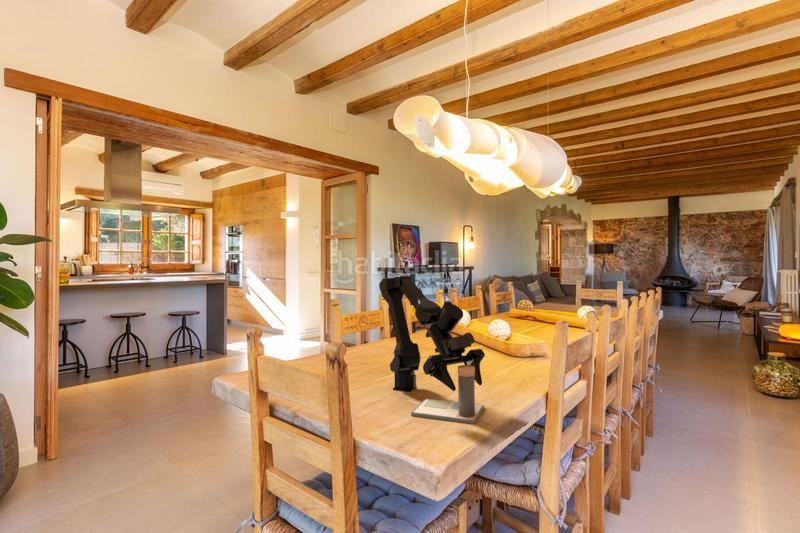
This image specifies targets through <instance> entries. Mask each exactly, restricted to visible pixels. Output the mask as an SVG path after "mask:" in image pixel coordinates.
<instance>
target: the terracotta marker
mask: <svg viewBox="0 0 800 533" xmlns="http://www.w3.org/2000/svg"><path fill="white" fill-rule="evenodd" d="M474 375H475V367H474V366H471V365H465V364H460V365H458V366H457V378H458V380H457V381H458V382H457V383H458V384H457V385H458V387H457V389H458V394H457V395H458V402H459V415H460V416H462V417H473V416H475V404H476V396H475V394H476V391H475V389H476V388H475V387H476V386H475V384H476V383H475V382H476V381H475V380H474Z"/></svg>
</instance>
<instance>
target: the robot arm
mask: <svg viewBox="0 0 800 533" xmlns="http://www.w3.org/2000/svg"><path fill="white" fill-rule="evenodd" d="M378 287H379V292H380V293H381V296H382V298H383V300H384V301H385V302H387V304H388V308H389V313H390V317H391V322H392V327H393V332H394V337H395V341H396V345H395V347H394V350H393V356H394V357H393V359H392V360H391V362H390V363H389V369H390V371H391V372H392V373H394V387H393V388H392V390H393V391H401V392H409V393H410V392H413V390H414V389H415V388H417V375H416V374H415V373H416V372H415V371H419V368H420V363H421V353H420V350H419V345H418V343H415V342H413V341H412V339H411V335H410V331H409V326H408V323H407V318H406V313H405V308H404V304H403V298H404V296H405V297H406V299H407V300H408V301H409V303H411V305H412V306H413V307H414V309H415V310H414V311H415V312H414V316H415V318H416V319H417V321H418V323H419V324H420V325H421V326H427V325H430V327H429V328H426V332H425V338H431V340H432V341H433V344H434V346H435V349H434V352H435V353H436V354H432V355H428V358H427V359H426V361H425V362H424V364H423V365H422V370H423V372H424V374H425V375H426V376H427V375H429V376H430V377H433V378H435V379H436V380H438V381H439V382H441V383H442V384H444V385H445V386H446V387H447V388H448V389H450V390H452V391H453V392H454V391H456V389H457V388H456V385H455V383H454V380H453V379H452V377H451V374H450V373H449V371H448V366H451V365H456V364H463V365H471V366H474V367H475V375H474V382H476V383H477V385H479V386H482V385H483V380H482V374H481V373H482V372H481V362H482V361H483V359H484V357H485V356H486V354H485V352H484V351H483V349H482V348H474V349H473V348H472V349H469V350H468V352H467V353H466V354H465V352H466V348H470V347H472V344H475V338H474V336H473V334H472V333H471V332H465V333H463V335H457V336H453V335H452V334H451V332H452V331H453V330H455V329H456V327H457V326H458V324H459V323H460V321H461V320H462V318H463V317H464V312H463V310H462V308H460V307H459V306H457V305H456V304H454V303H452V301H445V302H444V303H443V304H442V307H441V306H440V305H439V304H437V303H436V302H435V301H432V300H430V299H428V298H427V297H426V296H425V295H424V293H423V292H422V291H421V289H420V288H419V287H418V286H417V285H416V283H415V282H414V281H413V278H412V276H409V275H398V276H394V277H383V278H382V279H381V281H380V282H379V286H378ZM464 354H465V355H464Z"/></svg>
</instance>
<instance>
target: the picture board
mask: <svg viewBox="0 0 800 533" xmlns="http://www.w3.org/2000/svg"><path fill="white" fill-rule="evenodd" d="M484 409H485V405H484V404H478V403H477V404H476V403H475V416H473V417H462V416H460V415H459V401H451V400H450V401H449V400H441V399H433V398H432V399H431V398H425V399H424V400H423V401H421V403H419V404H418V406H416V407H415V408H414V409H413V411H412V412H410V416H412V417H418V418H426V419H435V420H442V421H448V422H457V423H465V424H471V425H476V423H477V421H478V420H479V418H480V416H481V414H482V413H483V411H484Z"/></svg>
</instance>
